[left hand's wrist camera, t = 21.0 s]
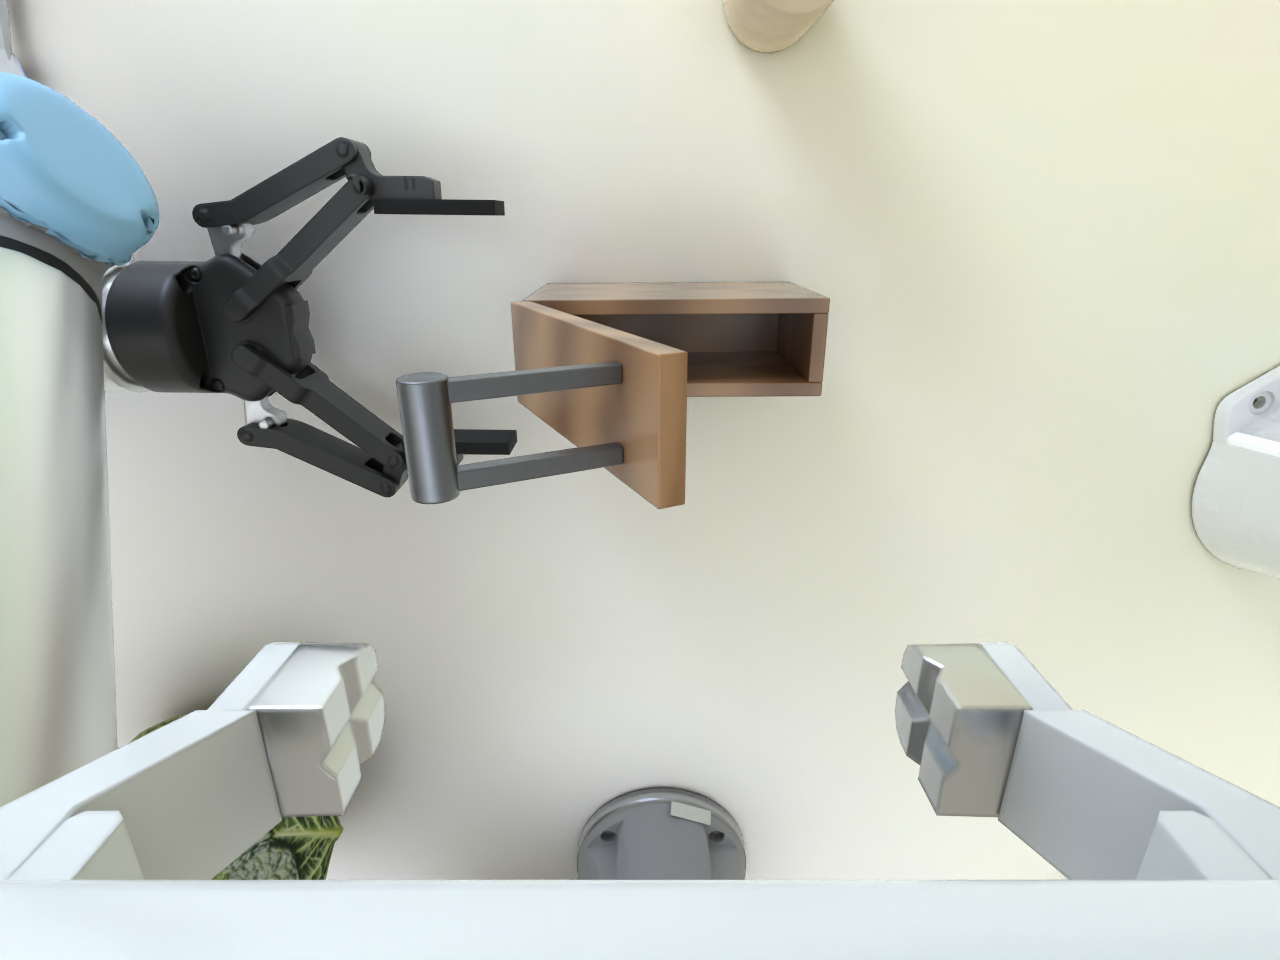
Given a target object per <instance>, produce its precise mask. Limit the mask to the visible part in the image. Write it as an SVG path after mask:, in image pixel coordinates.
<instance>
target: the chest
mask: <svg viewBox="0 0 1280 960" xmlns="http://www.w3.org/2000/svg"><path fill="white" fill-rule="evenodd" d="M523 301H531V302H534V303H537V304H540V305H543V306H546V307H549V308H552V309H555V310H558V311H562V312H565V313H568V314H571V315H574V316H577V317H580V318H583V319H586V320H589V321H593V322H596V323H599V324H602V325H605V326H608V327H611V328H614V329H617V330H620V331H623V332H627V333H630V334H633V335H636V336H639V337H642V338H645V339H648V340H651V341H654V342H658V343H661V344H664V345H667V346H670V347H673V348H676V349H679V350H682V351H685V352H687V354H688V356H687V397H734V396H821V390H822V380H823V369H824V358H825V347H826V335H827V324H828V312H829V302H830V299H829V298H827V297H825V296H822V295H820V294H818V293H815V292H813V291H810V290H808V289H806V288H803V287H801V286H798V285H796V284H794V283H791V282H681V283H548V284H546V285H544V286H543V287H542V288H540V289H539V290H537V291H536V292H534V293H533V294H531V295H530V296H528V297H527V298H526V299H524V300H523Z"/></svg>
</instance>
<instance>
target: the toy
mask: <svg viewBox="0 0 1280 960" xmlns="http://www.w3.org/2000/svg"><path fill="white" fill-rule="evenodd" d="M0 72H3V73H11V74H15V75H19V76H22V77H26V75H25V73H24V71H23V68H22V66H21V64H20V62H19V60H18V59H17V57H16V56H15V55H14V54H13V53H12V49H11V36H10V24H9V12H8V6H7V0H0ZM26 78H27V77H26Z"/></svg>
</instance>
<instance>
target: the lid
mask: <svg viewBox="0 0 1280 960" xmlns="http://www.w3.org/2000/svg"><path fill="white" fill-rule="evenodd" d="M511 311H512V325H513V340H514V354H515V368H516V371H510V372H500V373H490V374H479V375H469V376H459V377H449V378H448V377H447V376H446V375H444V374H440V373H414V374H408V375H404V376H401V377H399V378H397V380H396V386H397V394H398V401H399V408H400V416H401V423H402V431H403V438H404V446H405V453H406V461H407V468H408V476H409V483H410V491H411V497H412V499H413V500H414V501H415V502H417V503H421V504H438V503H444V502H448V501H451V500H453V499H455V498H456V497H458V496H459V493H460V491H462V490H468V489H474V488H480V487H486V486H492V485H498V484H505V483H511V482H517V481H523V480H529V479H535V478H541V477H547V476H553V475H559V474H565V473H571V472H577V471H583V470H589V469H595V468H601V467H604V468H605V469H607V470H608V471H609V472H611V473H612V474H613V475H614V476H616V477H617V478H618V479H620V480H621V481H622V482H624V483H625V484H626V485H628V486H629V487H630V488H631V489H633V490H634V491H635V492H637V493H638V494H639V495H641V496H642V497H643V498H644V499H646V500H647V501H648V502H650V503H651V504H652V505H654V506H655V507H656V508H657V509H663V508H668V507H673V506H678V505H683V504H684V503H685V465H686V410H687V356H688V354H687V352H685V351H682V350H679V349H676V348H673V347H670V346H667V345H664V344H661V343H658V342H654V341H651V340H648V339H645V338H642V337H639V336H636V335H633V334H630V333H627V332H623V331H620V330H617V329H614V328H611V327H608V326H605V325H602V324H599V323H596V322H593V321H589V320H586V319H583V318H580V317H577V316H574V315H571V314H568V313H565V312H562V311H558V310H555V309H552V308H549V307H546V306H543V305H540V304H537V303H534V302H531V301H522V302H511ZM508 396H518V402H519V403H521V404H522V405H523V406H525V407H526V408H527V409H529V410H530V411H531V412H532V413H534V414H535V415H536V416H538V417H539V418H540V419H542V420H543V421H544V422H545V423H547V424H548V425H549V426H551V427H552V428H553V429H555V430H556V431H557V432H558V433H560V434H561V435H562V436H564V437H565V438H566V439H568V440H569V441H570V442H571V443H573V444H574V445H575V446H577V447H578V448H572V449H565V450H559V451H552V452H545V453H539V454H532V455H525V456H519V457H512V458H505V459H499V460H492V461H485V462H479V463H472V464H465V465H459V466H457V458H456V449H455V439H454V430H453V420H452V411H451V403H455V402H464V401H472V400H481V399H490V398H499V397H508Z"/></svg>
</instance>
